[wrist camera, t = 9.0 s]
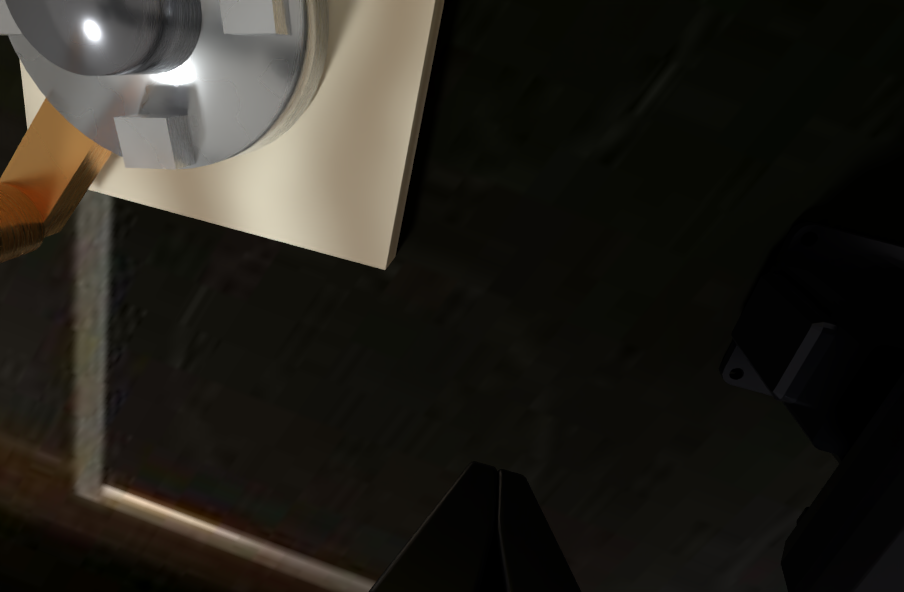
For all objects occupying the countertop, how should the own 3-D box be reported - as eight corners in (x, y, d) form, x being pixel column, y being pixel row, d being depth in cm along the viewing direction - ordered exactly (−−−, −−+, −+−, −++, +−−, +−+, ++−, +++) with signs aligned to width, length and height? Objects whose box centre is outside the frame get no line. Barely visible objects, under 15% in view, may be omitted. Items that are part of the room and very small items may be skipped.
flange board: (473, -150, 16) (466, -170, 14) (395, 256, 21) (385, 269, 20) (28, -253, 16) (-19, -282, 15) (64, 167, 22) (32, 174, 20)
